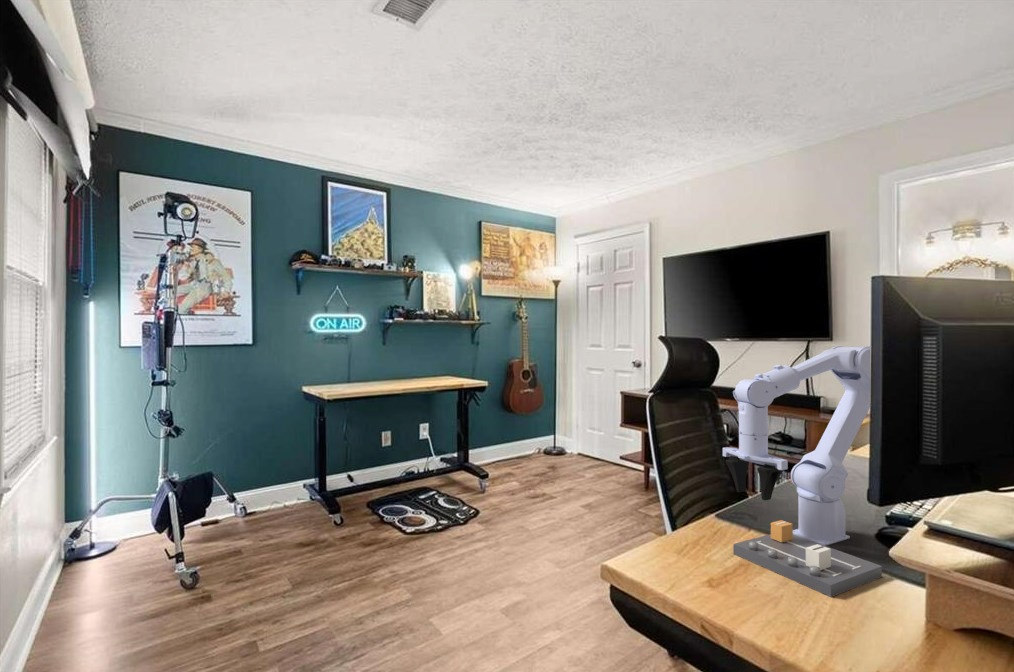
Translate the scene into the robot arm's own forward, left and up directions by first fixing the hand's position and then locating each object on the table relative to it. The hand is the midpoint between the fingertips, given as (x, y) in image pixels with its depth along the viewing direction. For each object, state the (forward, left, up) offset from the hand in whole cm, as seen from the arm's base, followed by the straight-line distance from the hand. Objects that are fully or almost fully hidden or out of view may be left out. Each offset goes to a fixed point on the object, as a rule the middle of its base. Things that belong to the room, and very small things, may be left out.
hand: (753, 495), depth 108 cm
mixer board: (+3, +13, -9) cm, 16 cm away
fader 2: (+6, +17, -7) cm, 20 cm away
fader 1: (0, +7, -7) cm, 10 cm away
